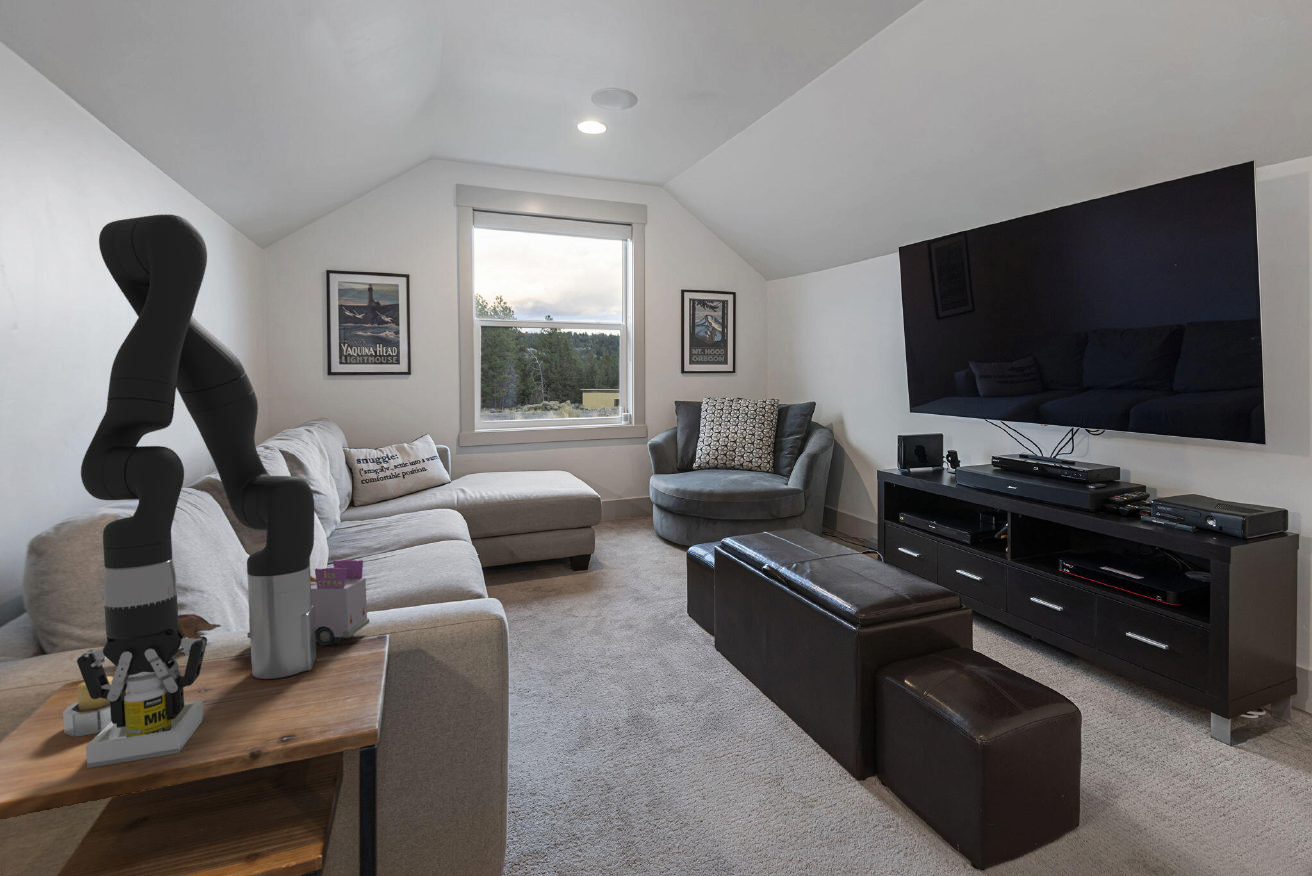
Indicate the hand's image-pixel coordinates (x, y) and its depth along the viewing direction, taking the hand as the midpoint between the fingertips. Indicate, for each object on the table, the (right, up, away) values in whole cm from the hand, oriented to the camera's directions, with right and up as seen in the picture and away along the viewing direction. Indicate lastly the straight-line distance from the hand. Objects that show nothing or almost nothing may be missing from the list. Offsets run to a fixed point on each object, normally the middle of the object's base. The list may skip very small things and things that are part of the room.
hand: (148, 720), depth 85 cm
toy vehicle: (+1, -1, +38) cm, 38 cm away
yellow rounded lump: (-12, 0, +5) cm, 13 cm away
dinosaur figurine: (-22, -2, +34) cm, 40 cm away
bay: (0, -3, 0) cm, 3 cm away
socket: (-11, -3, +5) cm, 13 cm away
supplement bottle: (0, -2, 0) cm, 2 cm away
